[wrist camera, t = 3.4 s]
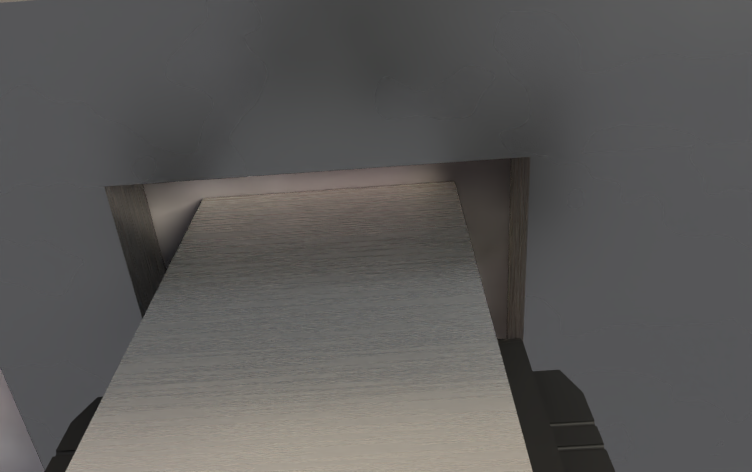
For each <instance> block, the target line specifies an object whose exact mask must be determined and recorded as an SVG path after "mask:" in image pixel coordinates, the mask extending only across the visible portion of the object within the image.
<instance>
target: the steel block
mask: <svg viewBox="0 0 752 472" xmlns="http://www.w3.org/2000/svg"><path fill="white" fill-rule="evenodd" d="M65 472H533V471H532V467H531V463H530V460H529V456H528V452H527V449H526V445H525V441H524V438H523V434H522V430H521V426H520V423H519V419H518V415H517V412H516V408H515V404H514V400H513V397H512V393H511V389H510V386H509V382H508V378H507V375H506V371H505V367H504V363H503V360H502V356H501V352H500V349H499V345H498V341H497V337H496V334H495V330H494V326H493V323H492V319H491V315H490V312H489V308H488V304H487V300H486V297H485V293H484V289H483V286H482V282H481V278H480V274H479V271H478V267H477V263H476V260H475V256H474V252H473V249H472V245H471V241H470V237H469V234H468V230H467V226H466V223H465V219H464V215H463V211H462V208H461V204H460V200H459V197H458V193H457V189H456V186H455V182H440V183H425V184H411V185H396V186H381V187H366V188H351V189H336V190H322V191H307V192H292V193H277V194H262V195H248V196H233V197H218V198H203V200H202V202H201V204H200V206H199V208H198V210H197V212H196V214H195V216H194V218H193V220H192V222H191V224H190V226H189V228H188V230H187V232H186V234H185V236H184V238H183V240H182V242H181V244H180V246H179V248H178V249H177V251H176V253H175V255H174V257H173V259H172V261H171V263H170V265H169V267H168V269H167V271H166V273H165V275H164V277H163V279H162V281H161V283H160V285H159V287H158V289H157V291H156V293H155V295H154V297H153V299H152V301H151V303H150V305H149V307H148V309H147V311H146V313H145V315H144V317H143V319H142V321H141V323H140V325H139V327H138V329H137V331H136V333H135V335H134V337H133V339H132V341H131V343H130V345H129V347H128V349H127V351H126V353H125V354H124V356H123V358H122V360H121V362H120V364H119V366H118V368H117V370H116V372H115V374H114V376H113V378H112V380H111V382H110V384H109V386H108V388H107V390H106V392H105V394H104V396H103V398H102V400H101V402H100V404H99V406H98V408H97V410H96V412H95V414H94V416H93V418H92V420H91V422H90V424H89V426H88V428H87V430H86V432H85V434H84V436H83V438H82V440H81V442H80V444H79V446H78V448H77V450H76V452H75V454H74V456H73V457H72V459H71V461H70V463H69V465H68V467H67V469H66V471H65Z"/></svg>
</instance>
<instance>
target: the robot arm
mask: <svg viewBox="0 0 752 472" xmlns="http://www.w3.org/2000/svg"><path fill="white" fill-rule="evenodd" d="M497 341H498V345H499V349H500V352H501V356H502V360H503V363H504V367H505V371H506V375H507V378H508V382H509V386H510V389H511V393H512V397H513V400H514V404H515V408H516V412H517V415H518V419H519V423H520V426H521V430H522V434H523V438H524V441H525V445H526V449H527V452H528V456H529V460H530V463H531V467H532V471H533V472H615V469H614V467H613V465H612V462H611V460H610V457H609V455H608V452H607V450H605V449H604V442H603V440H602V438H601V435H600V433H599V430H598V428H597V426H595V423H594V418H593V415H592V413H591V411H590V408H589V406H588V403H587V401H586V398H585V396H584V393H583V392H582V391H581V390H580V389H579V388H578V387H577V386H576V385H575V384H574V383H573V382H572V381H571V380H570V379H569V378H568V377H567V376H566V375H565V374H564V373H562V372H561V371H560V370H545V371H532V368H531V365H530V362H529V359H528V355H527V352H526V349H525V346H524V343H523V341H522V339H521V338H513V339H497ZM102 398H103V397H97V398H96V399H95V400H94V401H93V402H92V403H91V404H90V405H89V406H88V407H87V408H86V409H84V410H83V411H82V412H81V413H80V414H79V415H78V416H77V417H76V418H75V419H74V420H73V421H72V422H71V423H70V425H69V427H68V429H67V431H66V433H65V434H64V436H63V438H62V440H61V442H60V444H59V446H58V447H57V449H56V456H54V457H52V459H51V460H50V462H49V464H48V466H47V468H46V470H45V472H65V471H66V469H67V467H68V465H69V463H70V461H71V459H72V457H73V456H74V454H75V452H76V450H77V448H78V446H79V444H80V442H81V440H82V438H83V436H84V434H85V432H86V430H87V428H88V426H89V424H90V422H91V420H92V418H93V416H94V414H95V412H96V410H97V408H98V406H99V404H100V402H101V400H102Z"/></svg>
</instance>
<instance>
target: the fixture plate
mask: <svg viewBox="0 0 752 472" xmlns="http://www.w3.org/2000/svg"><path fill="white" fill-rule="evenodd" d="M505 158H511V187H510V227H509V267H508V307H507V339H513V338H521V339H522V341H523V343H524V346H525V349H526V352H527V355H528V359H529V362H530V365H531V368H532V371H545V370H560V371H561V372H562V373H564V374H565V375H566V376H567V377H568V378H569V379H570V380H571V381H572V382H573V383H574V384H575V385H576V386H577V387H578V388H579V389H580V390H581V391H582V392H583V393H584V396H585V398H586V401H587V403H588V406H589V408H590V411H591V413H592V415H593V418H594V423H595V426H597V428H598V430H599V433H600V435H601V438H602V440H603V442H604V449H605V450H607V452H608V455H609V457H610V460H611V462H612V465H613V467H614V469H615V472H752V0H0V368H1V370H2V372H3V375H4V377H5V379H6V382H7V384H8V386H9V389H10V391H11V393H12V396H13V398H14V400H15V402H16V405H17V407H18V409H19V412H20V414H21V416H22V419H23V421H24V423H25V426H26V428H27V430H28V433H29V435H30V437H31V440H32V442H33V444H34V447H35V449H36V451H37V454H38V456H39V458H40V461H41V463H42V465H43V468H44V470H46V468H47V466H48V464H49V462H50V460H51V459H52V457H54V456H56V449H57V447H58V446H59V444H60V442H61V440H62V438H63V436H64V434H65V433H66V431H67V429H68V427H69V425H70V423H71V422H72V421H73V420H74V419H75V418H76V417H77V416H78V415H79V414H80V413H81V412H82V411H83V410H84V409H86V408H87V407H88V406H89V405H90V404H91V403H92V402H93V401H94V400H95V399H96V398H97V397H103V396H104V394H105V392H106V390H107V388H108V386H109V384H110V382H111V380H112V378H113V376H114V374H115V372H116V370H117V368H118V366H119V364H120V362H121V360H122V358H123V356H124V354H125V353H126V351H127V349H128V347H129V345H130V343H131V341H132V339H133V337H134V335H135V333H136V331H137V329H138V327H139V325H140V323H141V321H142V319H143V317H144V315H145V313H146V311H147V309H148V307H149V305H150V303H151V301H152V299H153V297H154V295H155V293H156V291H157V289H158V287H159V285H160V283H161V281H162V279H163V277H164V275H165V273H166V272H165V268H164V264H163V260H162V256H161V252H160V249H159V245H158V241H157V237H156V233H155V229H154V225H153V222H152V218H151V214H150V210H149V206H148V202H147V198H146V194H145V191H144V187H143V184H147V183H162V182H176V181H190V180H205V179H219V178H233V177H248V176H262V175H276V174H291V173H305V172H319V171H333V170H348V169H362V168H376V167H391V166H405V165H419V164H434V163H448V162H462V161H477V160H491V159H505Z"/></svg>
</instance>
